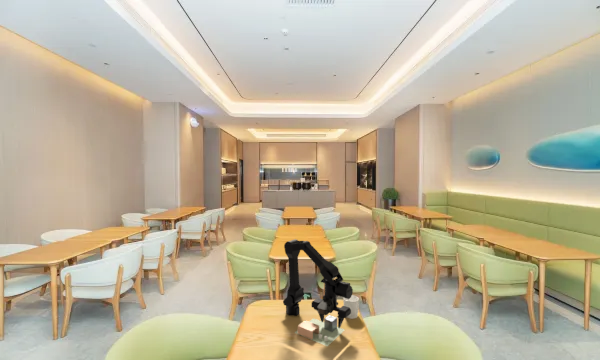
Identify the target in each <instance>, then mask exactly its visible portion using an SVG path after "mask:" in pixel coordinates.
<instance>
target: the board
mask: <svg viewBox="0 0 600 360" xmlns="http://www.w3.org/2000/svg"><path fill="white" fill-rule="evenodd" d="M308 322H311V323H314V324H316V325H319V334H317V333H315V332H313V339H310V338H308V337H305V336H303V335H300V334H298V329H297V330H296V331H294V334H295V335H299V336H301V337H304V338H306V339H309V340H311V341H313V342H316V343H318V344H321V345H323V346H324V347H325V346H326V347H329V346H330V345H331V343H333V342H334V341H335V340H336V339H337V338H338V337H339V336H341V334H343V333H344V331H346V330H345V329H344V328H341V327H340V328H338V326H337V328H336V329H335V330H334V331H333V332H331V331H328V330H326V329H324V321H323V322H322V321H321V319H320V320H319V319H317V318H314V317H312V319H310V320H309V321H308Z"/></svg>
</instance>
